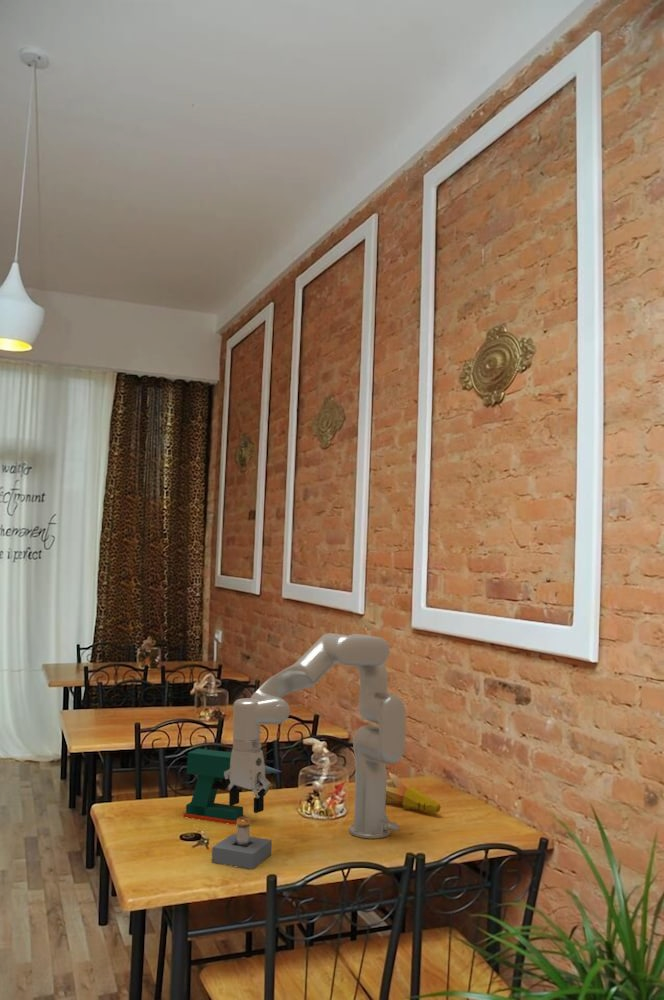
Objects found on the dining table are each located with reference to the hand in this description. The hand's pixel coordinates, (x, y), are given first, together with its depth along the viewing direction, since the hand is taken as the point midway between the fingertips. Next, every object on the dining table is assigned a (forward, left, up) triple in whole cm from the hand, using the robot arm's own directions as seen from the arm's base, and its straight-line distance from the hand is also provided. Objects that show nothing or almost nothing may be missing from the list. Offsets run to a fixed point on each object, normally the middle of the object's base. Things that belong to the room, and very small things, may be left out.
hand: (246, 808), depth 219 cm
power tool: (+17, -27, -14) cm, 35 cm away
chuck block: (0, +1, -13) cm, 13 cm away
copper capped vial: (0, +1, -13) cm, 13 cm away
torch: (-29, -64, -14) cm, 71 cm away
